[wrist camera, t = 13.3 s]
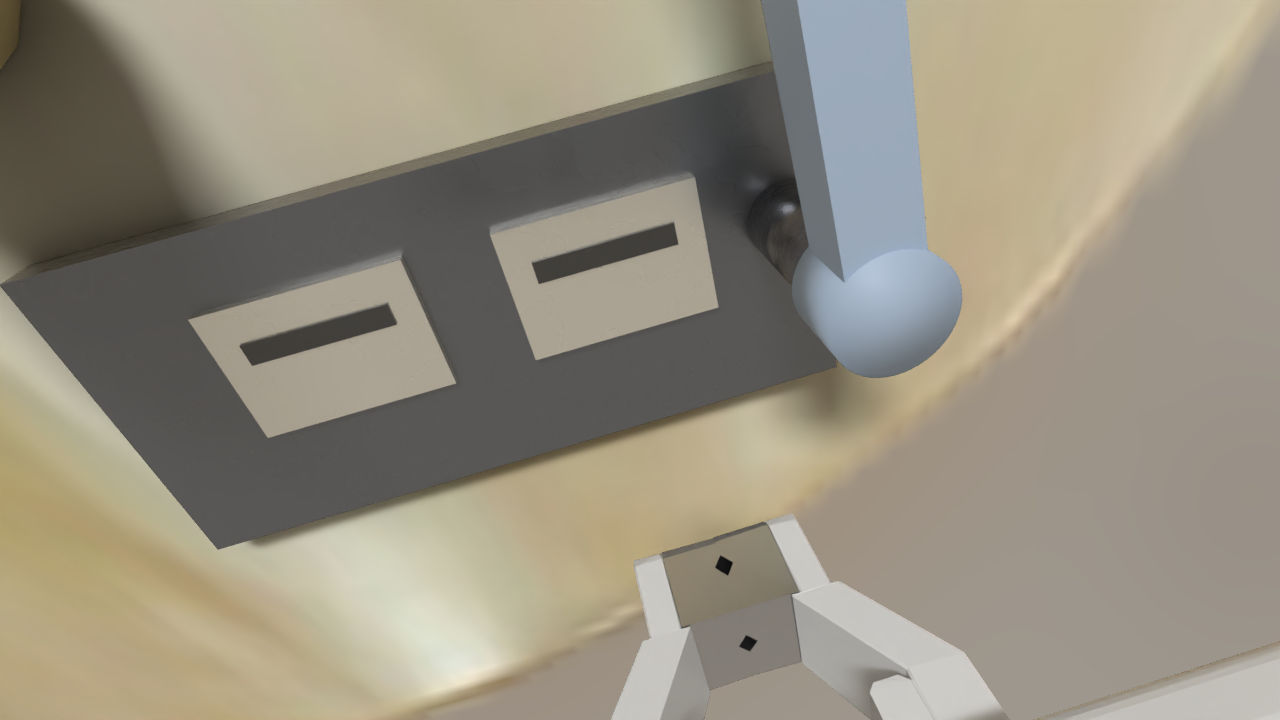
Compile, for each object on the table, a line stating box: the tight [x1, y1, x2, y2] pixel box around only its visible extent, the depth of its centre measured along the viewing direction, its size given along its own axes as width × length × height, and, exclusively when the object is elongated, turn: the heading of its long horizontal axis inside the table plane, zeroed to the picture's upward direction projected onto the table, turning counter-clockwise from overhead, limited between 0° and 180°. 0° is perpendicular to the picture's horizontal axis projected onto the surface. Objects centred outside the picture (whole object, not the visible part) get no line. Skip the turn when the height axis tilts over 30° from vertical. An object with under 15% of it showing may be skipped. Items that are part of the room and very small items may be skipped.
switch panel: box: [0, 61, 837, 549], centre depth 23 cm, size 26×12×6 cm, turn 103°
